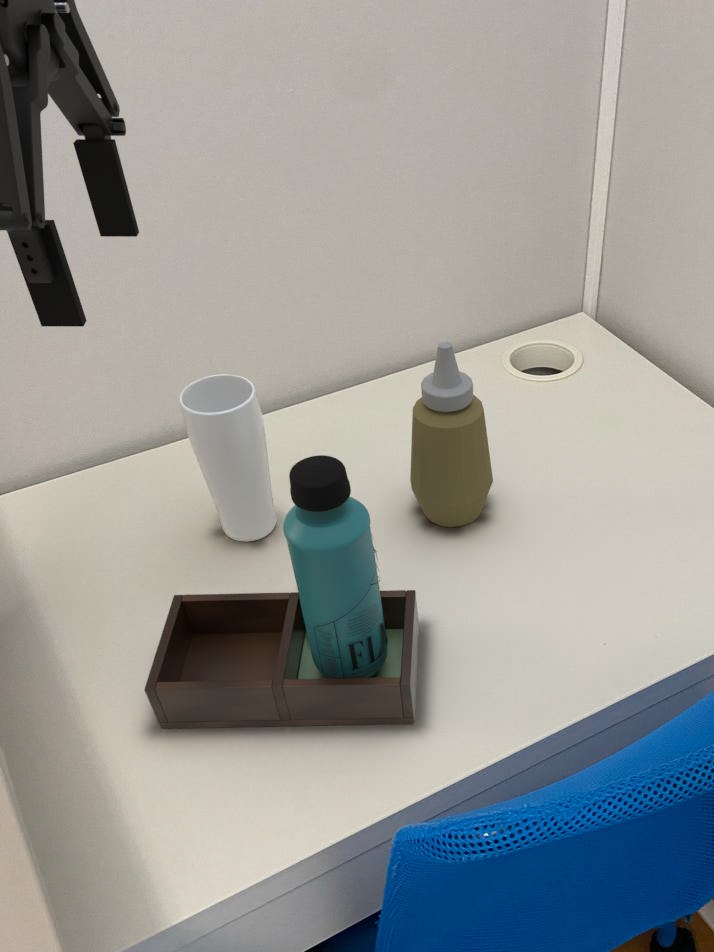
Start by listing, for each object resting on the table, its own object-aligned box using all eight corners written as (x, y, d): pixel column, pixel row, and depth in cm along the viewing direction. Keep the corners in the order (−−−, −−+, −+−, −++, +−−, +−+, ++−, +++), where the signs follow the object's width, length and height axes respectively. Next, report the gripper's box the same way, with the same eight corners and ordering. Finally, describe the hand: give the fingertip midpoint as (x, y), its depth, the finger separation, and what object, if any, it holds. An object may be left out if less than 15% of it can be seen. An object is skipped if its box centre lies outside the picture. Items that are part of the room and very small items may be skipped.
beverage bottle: (355, 709, 75) (319, 511, 60) (296, 673, 78) (248, 475, 63) (408, 660, 78) (386, 462, 64) (349, 627, 81) (315, 430, 67)
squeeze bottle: (472, 544, 90) (467, 377, 77) (398, 523, 92) (381, 357, 80) (506, 497, 95) (506, 332, 82) (435, 478, 98) (424, 315, 85)
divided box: (160, 728, 75) (143, 689, 72) (187, 634, 82) (173, 594, 79) (414, 723, 75) (410, 684, 71) (419, 629, 82) (415, 589, 79)
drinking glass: (208, 549, 90) (168, 414, 79) (224, 505, 95) (188, 372, 84) (278, 549, 90) (247, 414, 79) (290, 505, 95) (263, 372, 84)
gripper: (-45, -60, 42) (97, 369, 57) (109, -144, 59) (186, 203, 74) (-214, -60, 42) (-26, 369, 57) (-10, -144, 59) (91, 203, 74)
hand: (94, 276), depth 66 cm, fingers open, 13 cm apart
